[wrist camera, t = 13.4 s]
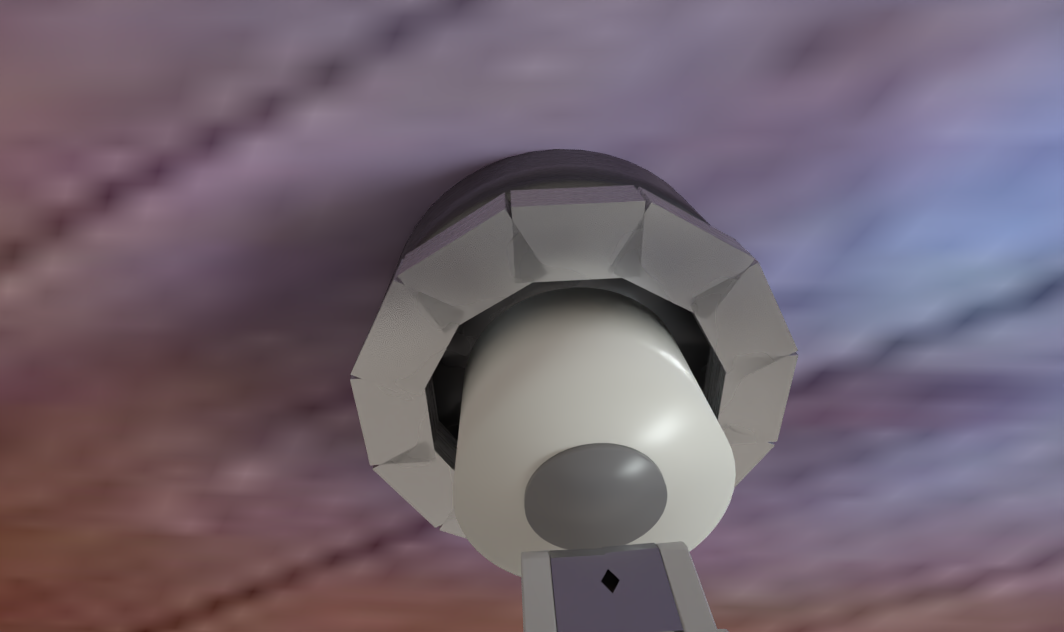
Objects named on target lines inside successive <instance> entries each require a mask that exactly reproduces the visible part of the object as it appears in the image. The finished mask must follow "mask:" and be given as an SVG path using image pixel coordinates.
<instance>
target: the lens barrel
mask: <svg viewBox="0 0 1064 632" xmlns="http://www.w3.org/2000/svg"><path fill="white" fill-rule="evenodd" d="M573 287H586V288H597V289H604V290H608V291H612V292H616V293H620V294H622V295H625V296H627V297H630V298H632V299H634V300H636V301H637V302H639V303H641V304H643V305H644V306H646V307H647V308H648V309H650V310H651V311H652V312H654V313H655V314H656V315H657V316H658V317H659V318H660V319H661V320H662V321H663V322H664V324H665V325H666V327H667V328H668V329H669V331H670V332H671V334H672V336H673V338H674V339H675V341H676V343H677V345H678V347H679V349H680V351H681V353H682V355H683V356H684V358H685V360H686V362H687V364H688V366H689V368H690V370H691V371H692V373H693V375H694V377H695V379H696V381H697V383H698V385H699V387H700V388H701V390H702V392H703V394H704V396H705V398H706V400H707V402H708V404H709V405H710V407H711V409H712V411H713V413H714V415H715V417H716V419H717V421H718V422H719V424H720V426H721V428H722V430H723V432H724V434H725V436H726V438H727V440H728V442H729V444H730V446H731V448H732V452H733V456H734V460H735V472H736V477H735V485H734V488H735V487H736V486H737V484H738V483H739V482H740V481H741V480H742V479H743V478H744V477H745V476H746V475H747V474H748V473H749V472H750V471H751V470H752V469H753V468H754V467H755V466H756V465H757V463H758V462H759V461H760V460H761V459H762V458H763V457H764V456H765V455H766V454H767V453H768V452H769V451H770V450H771V449H772V448H773V447H774V446H775V445H774V443H773V442H776V441H777V439H778V435H779V431H780V427H781V423H782V419H783V415H784V411H785V407H786V403H787V399H788V395H789V391H790V387H791V382H792V378H793V374H794V370H795V366H796V362H797V358H798V354H797V353H796V351H798V350H797V347H796V345H795V343H794V341H793V339H792V336H791V334H790V332H789V330H788V327H787V325H786V323H785V321H784V318H783V316H782V314H781V312H780V309H779V307H778V305H777V303H776V300H775V298H774V296H773V294H772V291H771V289H770V287H769V285H768V282H767V280H766V278H765V276H764V274H763V271H762V269H761V267H760V265H759V262H758V261H756V260H755V258H754V257H753V256H752V255H751V254H750V253H749V252H748V251H747V250H745V249H744V248H743V247H742V246H741V245H740V244H739V243H738V242H737V241H736V240H735V239H734V238H732V237H730V236H728V235H726V234H725V233H723V232H721V231H719V230H717V229H715V228H714V227H712V226H711V225H710V224H709V223H708V222H707V221H706V220H705V219H704V218H703V217H702V216H701V215H700V214H699V213H698V212H697V211H696V210H695V209H694V208H693V207H692V206H691V205H690V204H689V203H688V202H687V201H686V200H685V199H684V198H683V197H682V196H681V195H680V194H678V193H677V192H676V191H675V190H674V189H673V188H672V187H671V186H670V185H669V184H667V183H666V182H665V181H663V180H662V179H660V178H659V177H657V176H656V175H654V174H653V173H651V172H650V171H648V170H646V169H644V168H642V167H640V166H637V165H635V164H633V163H631V162H629V161H626V160H623V159H620V158H617V157H614V156H610V155H607V154H603V153H597V152H591V151H584V150H564V149H555V150H545V151H536V152H530V153H526V154H522V155H518V156H514V157H509V158H506V159H504V160H501V161H499V162H496V163H494V164H491V165H489V166H486V167H484V168H482V169H480V170H479V171H477V172H475V173H473V174H471V175H470V176H468V177H466V178H464V179H463V180H461V181H460V182H459V183H457V184H456V185H455V186H453V187H452V188H451V189H450V190H448V191H447V192H446V193H444V194H443V195H442V196H441V197H440V198H439V199H438V200H437V201H436V202H435V203H434V204H433V205H432V206H431V207H430V208H429V210H428V211H427V212H426V213H425V215H424V216H423V217H422V219H421V220H420V221H419V223H418V224H417V225H416V227H415V229H414V230H413V232H412V234H411V236H410V238H409V240H408V241H407V243H406V245H405V247H404V250H403V252H402V255H401V257H400V260H399V262H398V265H397V267H396V270H395V272H394V274H393V277H392V279H391V282H390V284H389V287H388V289H387V292H386V294H385V296H384V299H383V301H382V304H381V306H380V308H379V311H378V313H377V315H376V317H375V319H374V322H373V324H372V326H371V328H370V330H369V332H368V335H367V337H366V339H365V341H364V343H363V346H362V348H361V350H360V353H359V355H358V357H357V360H356V362H355V365H354V367H353V369H352V372H351V374H350V375H352V376H351V378H350V382H351V386H352V390H353V395H354V399H355V403H356V407H357V412H358V416H359V420H360V424H361V429H362V433H363V437H364V441H365V446H366V450H367V454H368V458H369V463H370V465H373V470H374V471H375V472H376V473H377V474H378V475H379V476H380V477H382V478H383V479H384V480H385V481H386V482H387V483H388V484H389V485H390V486H391V487H392V488H393V489H394V490H395V491H396V492H398V493H399V494H400V495H401V496H402V497H403V498H404V499H405V500H406V501H407V502H408V503H409V504H410V505H411V506H413V507H414V508H415V509H416V510H417V511H418V512H419V513H420V514H421V515H422V516H423V517H424V518H425V519H426V520H428V521H429V522H430V523H431V524H432V525H433V526H434V527H435V528H436V527H438V526H440V528H439V530H441V531H444V532H447V533H451V534H454V535H457V536H460V537H463V538H466V536H465V535H464V533H463V532H462V530H461V528H460V526H459V523H458V521H457V519H456V515H455V511H454V507H453V482H454V472H455V462H456V452H457V442H458V433H459V423H460V413H461V403H462V393H463V383H464V375H465V367H466V364H467V360H468V357H469V354H470V352H471V350H472V348H473V346H474V344H475V342H476V341H477V339H478V338H479V336H480V335H481V333H482V332H483V331H484V330H485V329H486V328H487V326H488V325H489V324H490V323H491V322H492V321H493V320H494V319H496V318H497V317H498V316H499V315H500V314H501V313H503V312H504V311H506V310H507V309H509V308H510V307H512V306H513V305H515V304H517V303H519V302H521V301H523V300H525V299H527V298H529V297H532V296H535V295H538V294H540V293H543V292H548V291H552V290H556V289H564V288H573Z"/></svg>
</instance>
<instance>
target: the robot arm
mask: <svg viewBox="0 0 1064 632" xmlns="http://www.w3.org/2000/svg"><path fill="white" fill-rule="evenodd" d="M521 580H522V604H523V628H524V632H728V631H727V630H726V629H717V627H716V625H715V622H714V619H713V616H712V614H711V611H710V608H709V605H708V602H707V600H706V597H705V594H704V591H703V589H702V586H701V583H700V580H699V577H698V575H697V572H696V569H695V566H694V563H693V561H692V558H691V555H690V552H689V550H688V547H687V546H686V544H685V543H684V542H682V541H679V542H668V543H656V544H655V543H644V544H632V545H620V546H608V547H602V548H594V549H571V550H549V551H548V550H546V551H531V552H521Z"/></svg>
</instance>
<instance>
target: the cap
mask: <svg viewBox="0 0 1064 632" xmlns="http://www.w3.org/2000/svg"><path fill="white" fill-rule="evenodd" d="M735 477H736V472H735V460H734V456H733V452H732V448H731V446H730V444H729V442H728V440H727V438H726V436H725V434H724V432H723V430H722V428H721V426H720V424H719V422H718V421H717V419H716V417H715V415H714V413H713V411H712V409H711V407H710V405H709V404H708V402H707V400H706V398H705V396H704V394H703V392H702V390H701V388H700V387H699V385H698V383H697V381H696V379H695V377H694V375H693V373H692V371H691V370H690V368H689V366H688V364H687V362H686V360H685V358H684V356H683V355H682V353H681V351H680V349H679V347H678V345H677V343H676V341H675V339H674V338H673V336H672V334H671V332H670V331H669V329H668V328H667V327H666V325H665V324H664V322H663V321H662V320H661V319H660V318H659V317H658V316H657V315H656V314H655V313H654V312H652V311H651V310H650V309H648V308H647V307H646V306H644V305H643V304H641V303H639V302H637V301H636V300H634V299H632V298H630V297H627V296H625V295H622V294H620V293H616V292H612V291H608V290H604V289H597V288H586V287H573V288H564V289H556V290H552V291H548V292H543V293H540V294H538V295H535V296H532V297H529V298H527V299H525V300H523V301H521V302H519V303H517V304H515V305H513V306H512V307H510V308H509V309H507V310H506V311H504V312H503V313H501V314H500V315H499V316H498V317H497V318H496V319H494V320H493V321H492V322H491V323H490V324H489V325H488V326H487V328H486V329H485V330H484V331H483V332H482V333H481V335H480V336H479V338H478V339H477V341H476V342H475V344H474V346H473V348H472V350H471V352H470V354H469V357H468V360H467V364H466V367H465V375H464V383H463V393H462V403H461V413H460V423H459V433H458V442H457V452H456V462H455V472H454V482H453V507H454V511H455V515H456V519H457V521H458V523H459V526H460V528H461V530H462V532H463V533H464V535H465V536H466V538H467V539H468V541H469V542H470V543H471V544H472V545H473V547H474V548H475V549H476V550H477V551H478V552H479V553H480V554H482V555H483V556H484V557H485V558H486V559H488V560H489V561H491V562H492V563H494V564H495V565H497V566H498V567H500V568H502V569H504V570H506V571H508V572H510V573H512V574H514V575H517V576H520V577H521V552H531V551H546V550H548V551H549V550H571V549H594V548H602V547H608V546H620V545H632V544H644V543H655V544H656V543H668V542H679V541H682V542H684V543H685V544H686V546H687V547H688V550H689V552H690V551H691V550H692V549H694V548H695V547H696V546H697V545H699V544H700V543H701V542H702V541H703V540H704V539H705V538H706V537H707V536H708V535H709V534H710V533H711V532H712V530H713V529H714V528H715V527H716V526H717V524H718V523H719V521H720V520H721V518H722V517H723V515H724V514H725V511H726V509H727V507H728V505H729V503H730V501H731V497H732V494H733V491H734V485H735Z"/></svg>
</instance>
